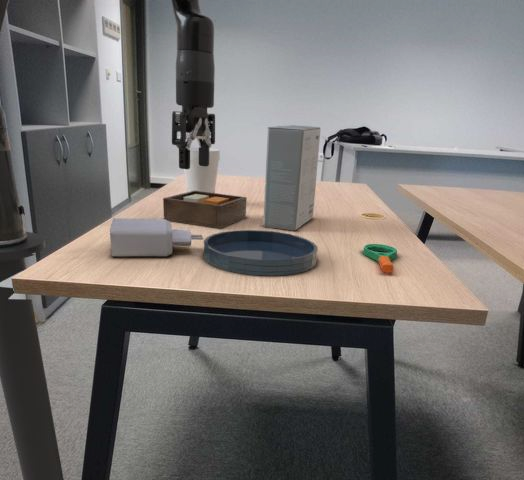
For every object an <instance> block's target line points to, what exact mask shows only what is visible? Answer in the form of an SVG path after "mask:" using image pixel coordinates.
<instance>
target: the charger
mask: <svg viewBox="0 0 524 480" xmlns="http://www.w3.org/2000/svg"><path fill="white" fill-rule="evenodd" d="M171 222H172V221H167V220H166V219H164V218H129V217H128V218H124V217H123V218H122V217H121V218H120V217H114V218H112V221H111V223H110V227H109V239H110V247H111V248H110V251H111V256H112V257H168V256H170V255H172V254H173V252H174V251H173V249H174V248H173V247H175V246H176V247H191V246H192V240H200V241H201V240H204V237H203V234H192V233H191V229H185V228H184V229H183V228H182V229H179V228H178V229H175V228H174V229H173V227H172V223H171Z"/></svg>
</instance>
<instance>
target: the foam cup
mask: <svg viewBox="0 0 524 480" xmlns="http://www.w3.org/2000/svg"><path fill="white" fill-rule="evenodd" d="M199 147H200V146H198V147H197V146H190V149H188V150H190V168H189V169H183V173H184V180H185V188H186V192H190V191H202V192H210V193H216V185H217V177H218V169H219V162H220V160H221V159H220V158H221V150H220V149H218V148H209V166H200V165H199Z"/></svg>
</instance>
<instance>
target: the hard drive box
mask: <svg viewBox="0 0 524 480" xmlns="http://www.w3.org/2000/svg"><path fill="white" fill-rule="evenodd" d="M266 137H267V138H266V140H267V141H266V158H265V159H266V161H265V162H266V163H265V165H266V166H265V180H264V181H265V182H264V183H265V184H264V199H263V200H264V201H263V205H264V206H263V222H262V225H263V227H264V228H270V229H279V230H285V231H286V230H287V231H295V232H296V231H297V230H298V229H300V228H301V227H302V226H303V225H305V224H306V223H308V222H309V221H310V220H311V219H313V217H314V211H315V210H314V208H315V198H316V185H317V176H318V175H317V173H318V163H319V150H320V141H321V127H320V126H309V125H296V124H295V125H294V124H292V125H291V124H286V125H285V124H284V125H276V126H267V136H266Z"/></svg>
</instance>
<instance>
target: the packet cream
mask: <svg viewBox="0 0 524 480" xmlns="http://www.w3.org/2000/svg"><path fill="white" fill-rule="evenodd" d="M183 199H184V201H192V202H199V203H204V200H205V199H209V196H207V195H200V194H194V195H190V196H186V197H183Z"/></svg>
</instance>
